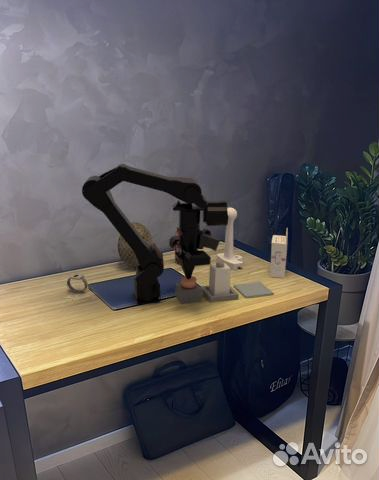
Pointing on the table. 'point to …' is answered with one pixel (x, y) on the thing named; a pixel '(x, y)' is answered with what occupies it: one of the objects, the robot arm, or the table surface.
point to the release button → (188, 282)
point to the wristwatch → (77, 277)
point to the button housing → (188, 294)
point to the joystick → (230, 244)
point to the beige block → (219, 279)
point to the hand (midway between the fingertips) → (188, 278)
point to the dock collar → (218, 298)
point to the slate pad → (253, 290)
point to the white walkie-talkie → (278, 255)
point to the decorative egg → (124, 248)
